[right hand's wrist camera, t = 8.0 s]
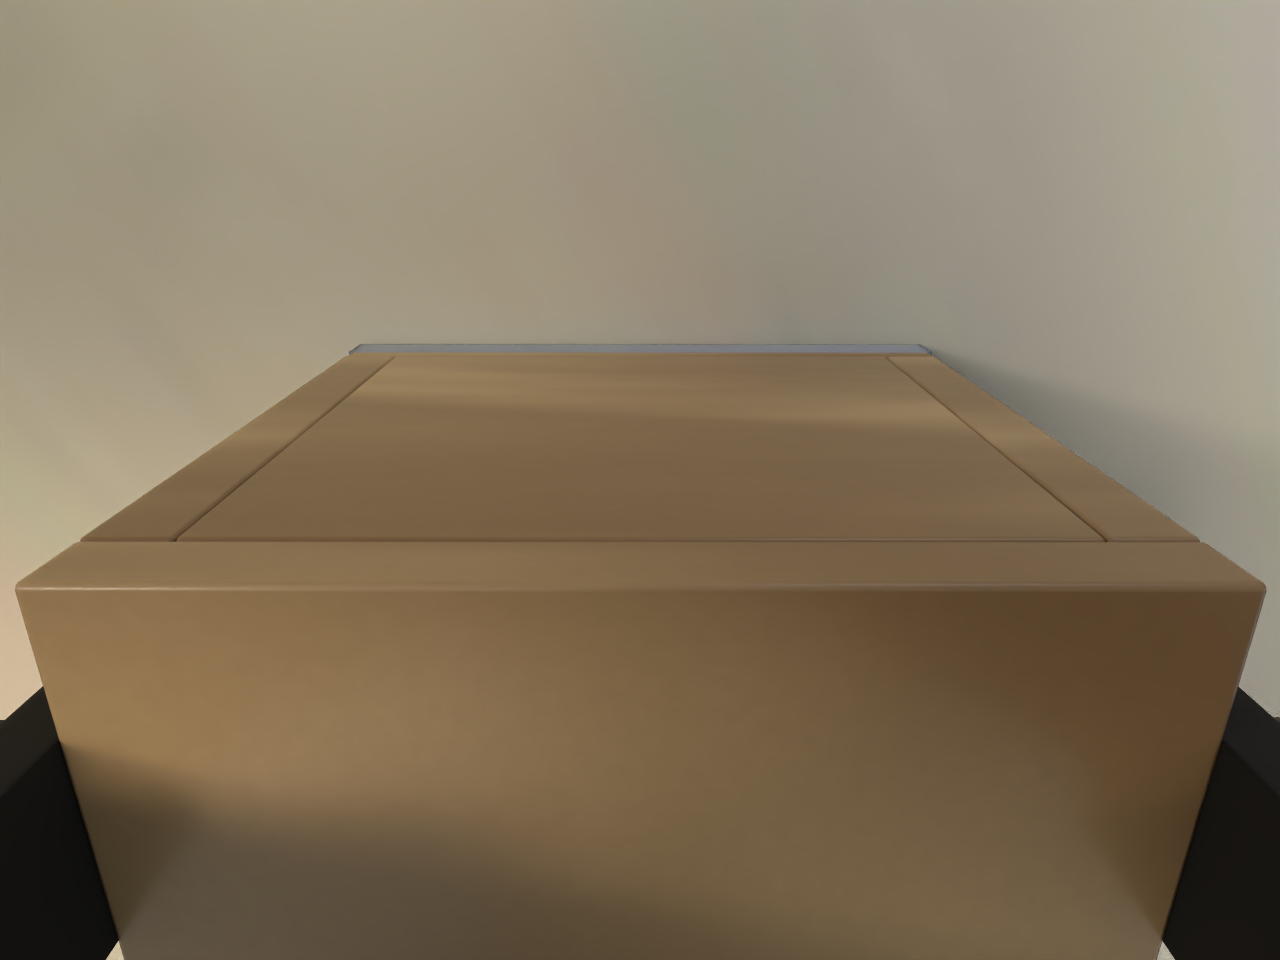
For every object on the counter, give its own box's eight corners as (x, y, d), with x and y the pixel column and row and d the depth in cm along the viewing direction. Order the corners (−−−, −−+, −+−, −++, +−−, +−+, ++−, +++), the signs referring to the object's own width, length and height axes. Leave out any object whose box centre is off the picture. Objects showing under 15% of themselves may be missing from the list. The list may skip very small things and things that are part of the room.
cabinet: (848, 946, 24) (996, 1507, 14) (431, 947, 24) (283, 1507, 14) (921, 344, 18) (1274, 583, 8) (359, 344, 18) (7, 582, 8)
